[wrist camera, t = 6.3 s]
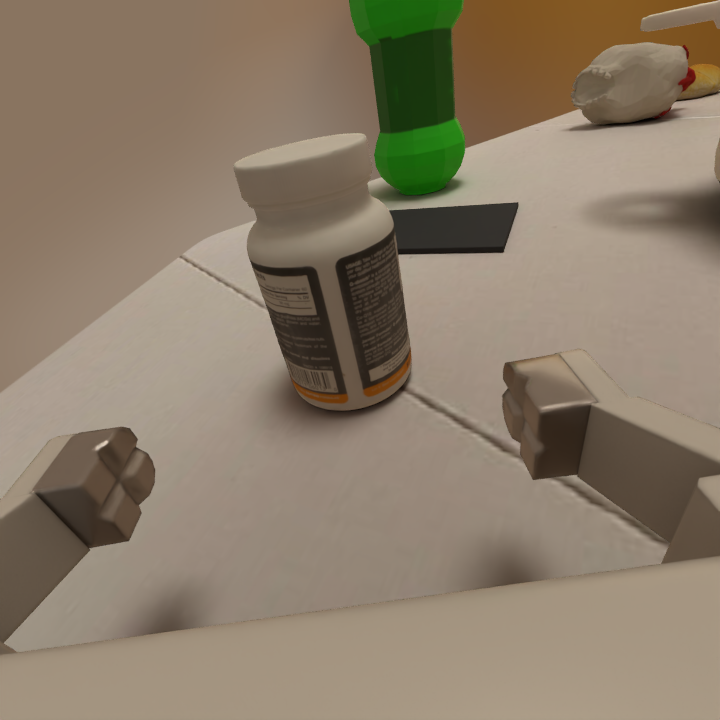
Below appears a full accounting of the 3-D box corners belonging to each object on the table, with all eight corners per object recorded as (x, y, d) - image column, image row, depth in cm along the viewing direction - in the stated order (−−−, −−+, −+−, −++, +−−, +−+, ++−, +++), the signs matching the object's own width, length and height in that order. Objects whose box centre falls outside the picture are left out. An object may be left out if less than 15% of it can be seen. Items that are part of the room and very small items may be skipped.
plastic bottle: (359, 198, 48) (307, -117, 33) (421, 174, 52) (397, -110, 38) (425, 206, 41) (393, -188, 27) (488, 177, 46) (490, -168, 32)
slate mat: (267, 256, 37) (265, 251, 36) (318, 218, 44) (317, 214, 44) (503, 252, 28) (503, 246, 28) (518, 207, 36) (518, 202, 35)
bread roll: (639, 102, 68) (644, 73, 66) (686, 91, 69) (693, 62, 67) (683, 102, 62) (690, 70, 59) (734, 90, 63) (744, 57, 60)
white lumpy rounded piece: (561, 126, 59) (632, 119, 64) (636, 126, 50) (711, 118, 55) (574, 49, 55) (650, 47, 60) (659, 34, 46) (739, 33, 51)
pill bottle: (389, 332, 22) (357, 125, 17) (433, 393, 18) (409, 134, 12) (287, 362, 22) (219, 157, 16) (305, 434, 17) (216, 179, 11)
